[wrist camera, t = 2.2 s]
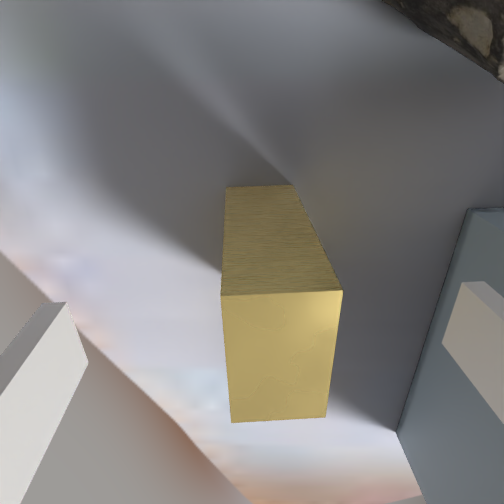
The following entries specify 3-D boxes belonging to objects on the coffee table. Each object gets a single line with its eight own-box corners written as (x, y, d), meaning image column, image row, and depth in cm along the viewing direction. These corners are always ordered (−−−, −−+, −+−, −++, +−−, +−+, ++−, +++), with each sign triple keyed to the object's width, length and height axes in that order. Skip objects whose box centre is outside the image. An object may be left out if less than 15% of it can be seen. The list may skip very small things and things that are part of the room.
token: (226, 187, 15) (220, 296, 8) (292, 184, 15) (343, 290, 8) (231, 279, 18) (231, 423, 11) (289, 276, 18) (325, 417, 11)
